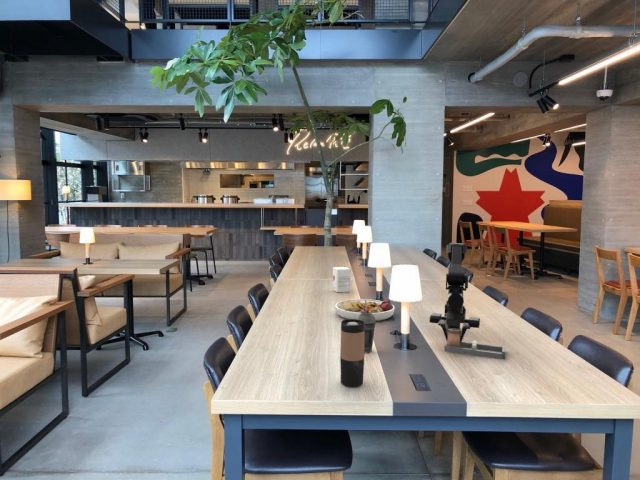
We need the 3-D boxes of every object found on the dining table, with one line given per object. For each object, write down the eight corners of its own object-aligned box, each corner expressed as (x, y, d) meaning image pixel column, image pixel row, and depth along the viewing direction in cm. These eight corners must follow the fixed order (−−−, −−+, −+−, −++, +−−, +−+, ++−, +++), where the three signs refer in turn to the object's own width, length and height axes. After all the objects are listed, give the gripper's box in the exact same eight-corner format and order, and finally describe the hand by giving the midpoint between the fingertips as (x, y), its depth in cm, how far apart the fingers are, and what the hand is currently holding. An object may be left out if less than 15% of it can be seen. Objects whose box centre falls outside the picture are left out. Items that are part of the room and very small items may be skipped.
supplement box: (332, 290, 290) (332, 267, 288) (345, 289, 292) (345, 266, 291) (337, 293, 281) (337, 269, 280) (350, 292, 284) (350, 268, 282)
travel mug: (362, 378, 149) (363, 318, 147) (365, 387, 141) (366, 325, 139) (339, 378, 149) (339, 318, 147) (340, 388, 141) (341, 325, 139)
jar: (447, 341, 182) (448, 327, 182) (461, 342, 180) (462, 329, 180) (445, 345, 177) (446, 331, 177) (460, 346, 175) (460, 332, 175)
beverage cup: (360, 354, 171) (361, 303, 169) (353, 348, 178) (354, 298, 176) (378, 353, 173) (379, 302, 171) (371, 347, 180) (372, 297, 178)
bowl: (346, 325, 211) (346, 309, 211) (328, 309, 240) (328, 295, 239) (404, 321, 219) (404, 305, 218) (380, 306, 248) (380, 292, 247)
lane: (447, 344, 184) (447, 336, 184) (505, 351, 176) (505, 344, 175) (444, 351, 176) (444, 343, 175) (505, 359, 167) (505, 351, 167)
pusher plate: (472, 347, 179) (473, 340, 179) (476, 348, 178) (477, 341, 178) (471, 352, 173) (471, 345, 173) (475, 353, 173) (475, 345, 172)
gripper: (427, 304, 173) (426, 344, 175) (478, 309, 166) (477, 351, 168) (432, 298, 184) (431, 336, 185) (480, 303, 176) (479, 342, 178)
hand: (453, 341), depth 179 cm, fingers closed on jar, 5 cm apart
